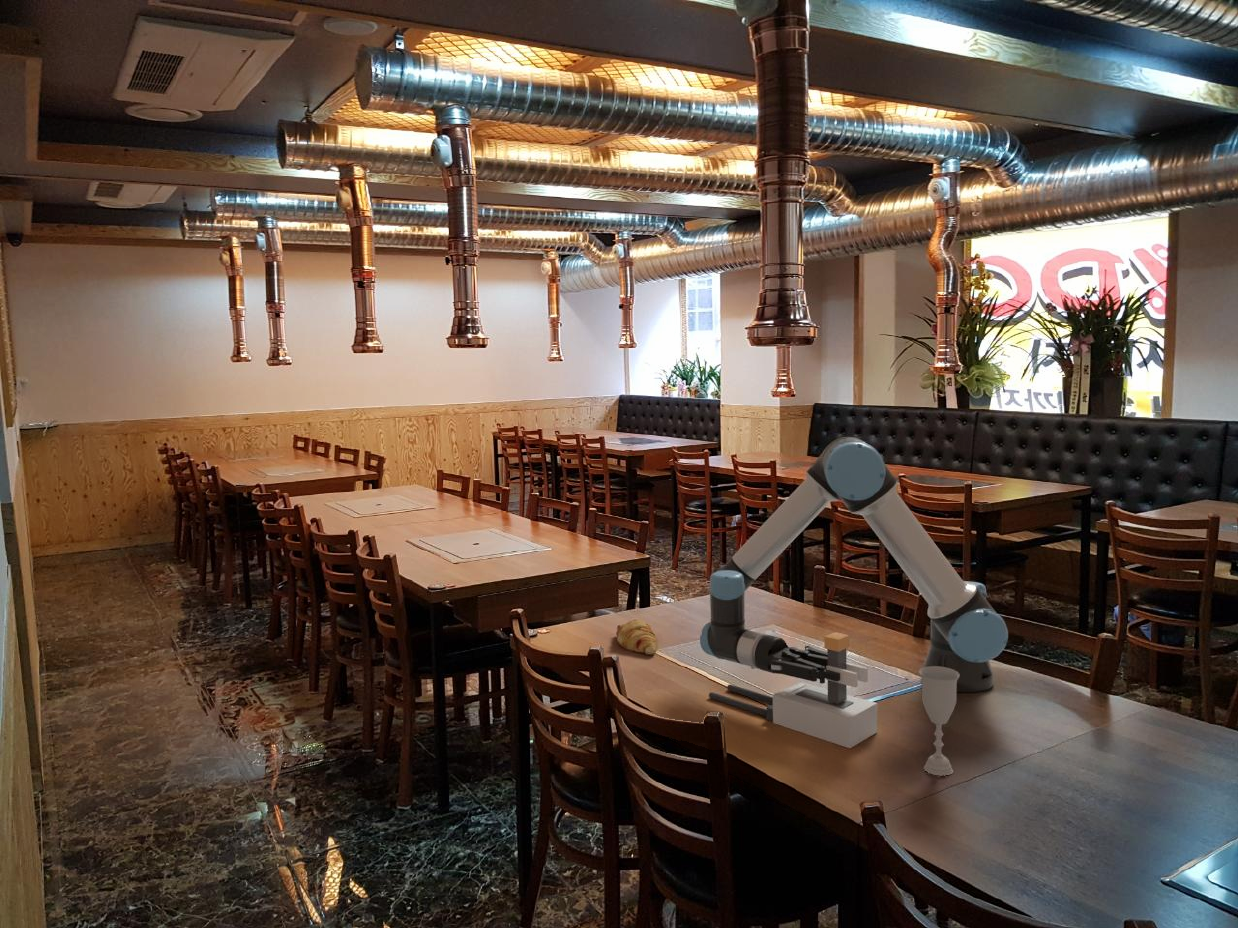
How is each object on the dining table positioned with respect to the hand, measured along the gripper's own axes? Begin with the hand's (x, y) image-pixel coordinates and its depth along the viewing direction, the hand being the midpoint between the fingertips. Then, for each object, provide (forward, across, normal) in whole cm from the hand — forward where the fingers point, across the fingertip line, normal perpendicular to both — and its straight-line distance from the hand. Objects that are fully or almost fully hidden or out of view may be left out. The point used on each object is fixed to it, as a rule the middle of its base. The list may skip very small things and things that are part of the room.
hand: (861, 677), depth 169 cm
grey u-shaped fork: (-27, 0, -13) cm, 30 cm away
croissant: (-75, -12, -13) cm, 77 cm away
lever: (-5, 0, -6) cm, 8 cm away
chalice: (+17, +2, -13) cm, 21 cm away
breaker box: (-8, 0, -12) cm, 15 cm away
